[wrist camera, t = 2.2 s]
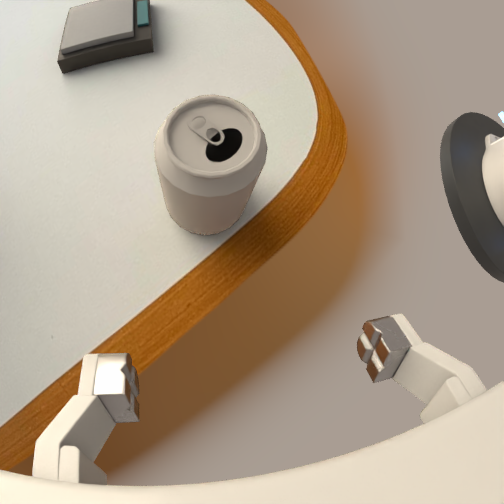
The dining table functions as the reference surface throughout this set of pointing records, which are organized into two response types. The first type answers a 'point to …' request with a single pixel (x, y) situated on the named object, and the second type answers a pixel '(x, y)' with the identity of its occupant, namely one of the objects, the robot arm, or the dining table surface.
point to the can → (209, 162)
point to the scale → (105, 33)
